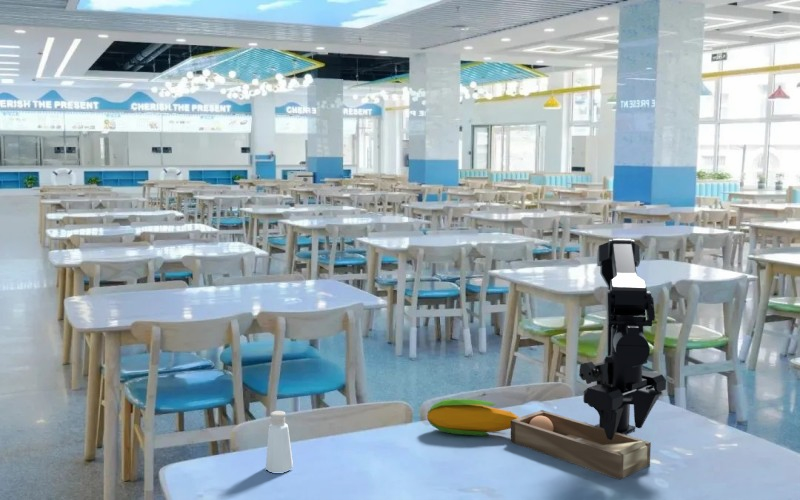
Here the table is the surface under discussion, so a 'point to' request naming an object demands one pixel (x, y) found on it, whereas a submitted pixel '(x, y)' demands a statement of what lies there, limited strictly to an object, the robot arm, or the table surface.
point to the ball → (542, 423)
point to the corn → (469, 417)
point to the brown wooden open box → (583, 444)
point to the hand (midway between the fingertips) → (624, 433)
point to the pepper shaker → (278, 444)
